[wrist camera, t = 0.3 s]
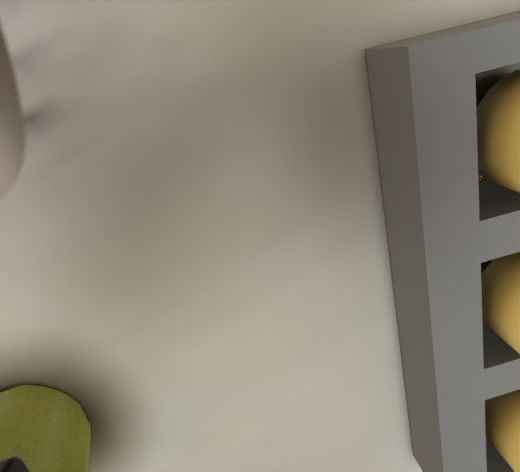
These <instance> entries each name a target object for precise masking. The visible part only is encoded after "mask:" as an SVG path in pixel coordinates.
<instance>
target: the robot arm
mask: <svg viewBox="0 0 520 472" xmlns="http://www.w3.org/2000/svg"><path fill="white" fill-rule="evenodd" d="M0 472H30V471H29V469H28V468H27V466H26V465H25V463H24V462H23V460H22V459H21V458H19V457H17V456H13V457H9V458H6V459H3V460H0Z"/></svg>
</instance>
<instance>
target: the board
mask: <svg viewBox="0 0 520 472" xmlns="http://www.w3.org/2000/svg"><path fill="white" fill-rule="evenodd" d="M365 53H366V62H367V70H368V79H369V87H370V96H371V104H372V112H373V121H374V129H375V138H376V146H377V154H378V163H379V171H380V180H381V188H382V197H383V205H384V213H385V222H386V230H387V239H388V247H389V255H390V264H391V272H392V281H393V289H394V298H395V306H396V314H397V323H398V331H399V340H400V348H401V356H402V365H403V373H404V382H405V390H406V399H407V407H408V415H409V424H410V432H411V441H412V449H413V456H414V457H415V459H416V461H417V462H418V464H419V466H420V467H421V469H422V471H423V472H514V470H513V469H512V468H511V467H510V465H509V464H508V463H507V462H506V460H505V459H504V458H503V457H502V456H501V454H500V453H499V452H498V451H497V449H496V448H495V447H494V446H493V445H492V443H491V442H490V441H489V440H488V438H487V437H486V427H485V400H487V399H490V398H493V397H497V396H500V395H503V394H506V393H510V392H513V391H516V390H519V389H520V354H519V353H518V352H517V351H516V350H514V349H513V348H512V347H511V346H510V345H509V344H507V343H506V342H505V341H504V340H503V339H502V338H501V337H499V336H498V335H497V334H496V333H495V332H494V331H492V330H491V329H490V328H489V327H488V326H487V325H485V324H484V323H483V322H482V289H481V263H482V262H486V261H489V260H492V259H496V258H499V257H503V256H506V255H510V254H513V253H517V252H520V193H519V192H516V191H513V190H511V189H508V188H506V187H503V186H500V185H498V184H495V183H493V182H490V181H489V180H485V181H481V182H478V150H477V115H476V80H475V74H477V73H480V72H484V71H488V70H492V69H496V68H500V67H504V66H508V65H512V64H516V63H520V11H518V12H514V13H510V14H506V15H502V16H498V17H494V18H490V19H486V20H482V21H478V22H474V23H470V24H466V25H462V26H458V27H454V28H450V29H446V30H442V31H438V32H433V33H429V34H425V35H421V36H417V37H413V38H409V39H405V40H401V41H397V42H393V43H389V44H385V45H381V46H377V47H373V48H369V49H365Z"/></svg>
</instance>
